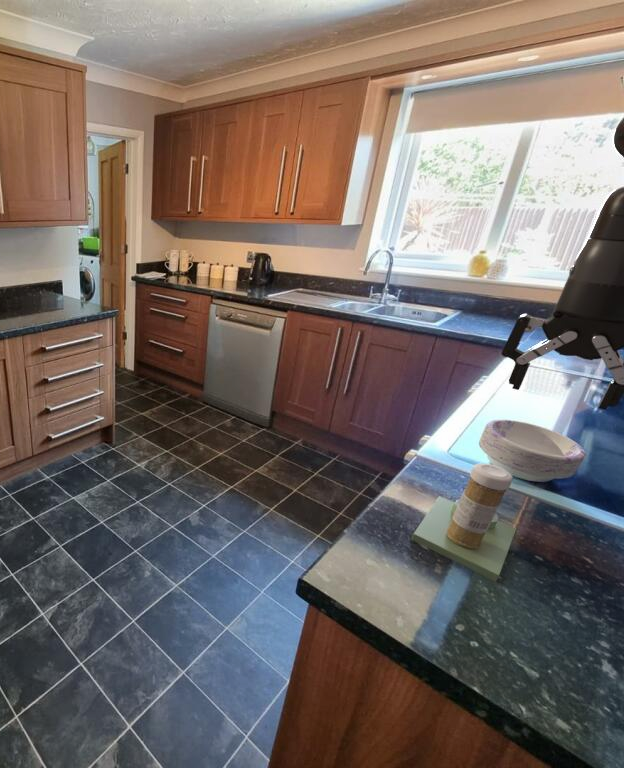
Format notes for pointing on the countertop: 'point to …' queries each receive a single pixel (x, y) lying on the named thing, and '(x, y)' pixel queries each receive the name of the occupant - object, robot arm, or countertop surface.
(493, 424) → the paper bowls
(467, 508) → the sprinkles bottle
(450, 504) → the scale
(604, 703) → the countertop surface
